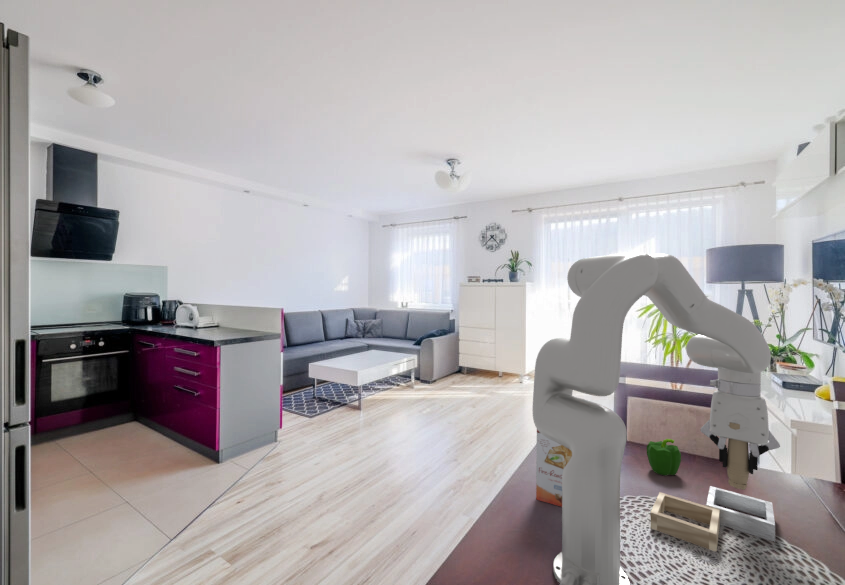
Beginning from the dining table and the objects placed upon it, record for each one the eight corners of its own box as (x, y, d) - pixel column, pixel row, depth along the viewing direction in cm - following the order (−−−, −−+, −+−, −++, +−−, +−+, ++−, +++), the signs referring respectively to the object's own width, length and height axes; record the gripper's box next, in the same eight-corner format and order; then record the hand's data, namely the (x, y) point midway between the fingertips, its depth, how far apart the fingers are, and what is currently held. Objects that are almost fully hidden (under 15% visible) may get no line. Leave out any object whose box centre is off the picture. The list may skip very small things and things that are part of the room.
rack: (716, 552, 74) (716, 534, 74) (650, 528, 81) (650, 512, 81) (719, 525, 83) (719, 509, 83) (659, 506, 90) (659, 491, 90)
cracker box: (535, 501, 92) (535, 417, 92) (540, 490, 97) (541, 410, 97) (597, 518, 85) (597, 427, 85) (599, 505, 90) (599, 419, 90)
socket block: (775, 542, 77) (775, 525, 77) (706, 520, 85) (706, 504, 85) (772, 517, 86) (772, 502, 86) (710, 499, 93) (709, 485, 93)
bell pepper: (640, 470, 109) (640, 436, 109) (654, 463, 113) (654, 430, 113) (672, 482, 102) (672, 445, 102) (686, 474, 106) (685, 439, 106)
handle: (760, 491, 83) (761, 424, 83) (736, 493, 82) (736, 424, 82) (739, 481, 88) (739, 417, 88) (715, 482, 87) (716, 418, 87)
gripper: (692, 384, 88) (691, 462, 88) (791, 398, 77) (790, 487, 77) (695, 380, 94) (694, 453, 93) (788, 392, 83) (787, 475, 82)
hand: (737, 467), depth 85 cm, fingers closed on handle, 4 cm apart
